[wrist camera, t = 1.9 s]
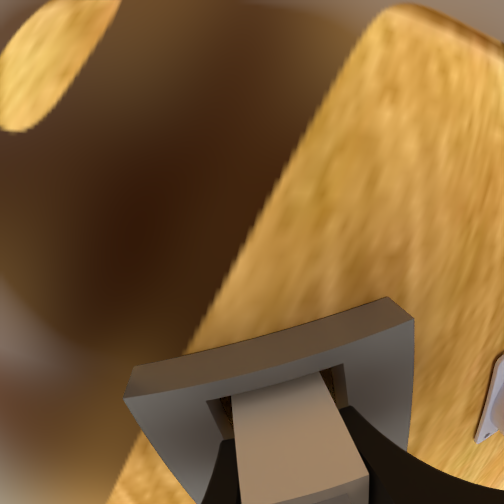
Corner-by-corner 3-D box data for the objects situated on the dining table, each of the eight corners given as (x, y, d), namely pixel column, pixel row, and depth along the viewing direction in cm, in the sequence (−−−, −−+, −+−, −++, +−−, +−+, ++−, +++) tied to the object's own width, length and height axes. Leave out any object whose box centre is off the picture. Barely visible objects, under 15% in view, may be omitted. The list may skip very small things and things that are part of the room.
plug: (310, 354, 12) (379, 497, 5) (321, 410, 13) (375, 537, 6) (229, 376, 12) (244, 534, 5) (250, 429, 13) (272, 565, 6)
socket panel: (387, 296, 12) (414, 318, 10) (386, 475, 15) (398, 497, 13) (134, 366, 11) (122, 398, 9) (230, 518, 15) (233, 543, 13)
